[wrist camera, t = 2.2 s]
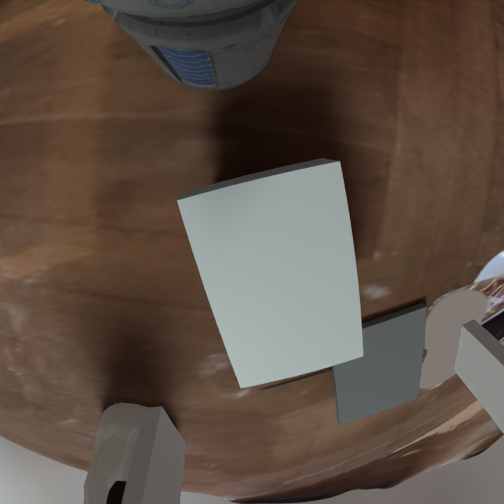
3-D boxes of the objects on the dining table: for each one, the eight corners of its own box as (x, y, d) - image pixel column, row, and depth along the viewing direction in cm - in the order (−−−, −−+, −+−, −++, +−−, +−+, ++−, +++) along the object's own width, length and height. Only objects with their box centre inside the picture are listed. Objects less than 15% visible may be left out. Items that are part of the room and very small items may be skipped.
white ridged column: (170, 405, 35) (143, 590, 11) (182, 451, 38) (170, 600, 15) (93, 398, 34) (35, 556, 11) (114, 444, 38) (81, 579, 14)
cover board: (186, 191, 22) (177, 200, 18) (321, 158, 22) (339, 161, 18) (239, 357, 27) (240, 388, 23) (348, 329, 27) (363, 356, 23)
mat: (327, 333, 32) (330, 338, 32) (422, 302, 32) (426, 306, 31) (337, 420, 38) (339, 425, 37) (414, 393, 37) (417, 397, 37)
